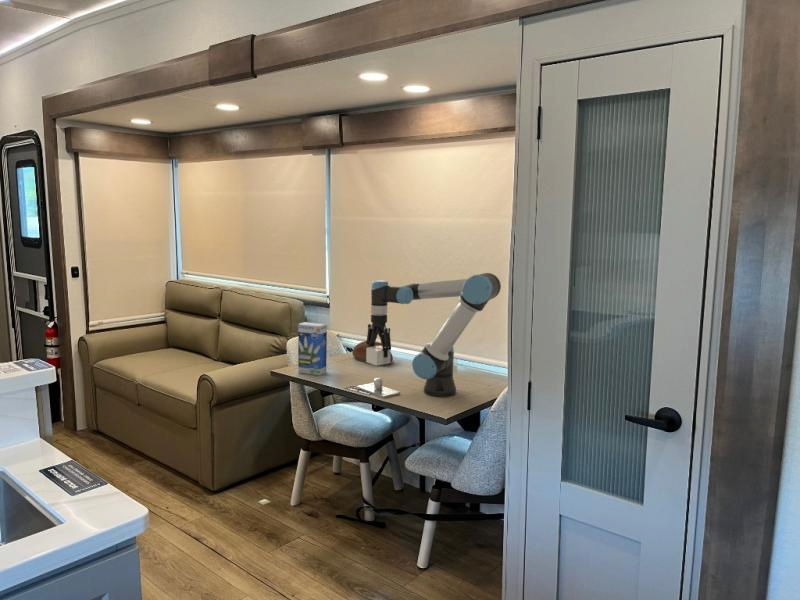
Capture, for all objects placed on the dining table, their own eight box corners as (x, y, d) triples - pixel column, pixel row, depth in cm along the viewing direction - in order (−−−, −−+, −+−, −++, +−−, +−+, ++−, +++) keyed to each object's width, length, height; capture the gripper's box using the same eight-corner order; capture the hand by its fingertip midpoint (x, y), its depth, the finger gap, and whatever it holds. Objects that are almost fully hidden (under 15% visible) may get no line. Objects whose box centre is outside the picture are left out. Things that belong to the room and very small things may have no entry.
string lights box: (297, 372, 312) (297, 323, 308) (305, 369, 319) (304, 321, 315) (320, 375, 307) (320, 326, 304) (327, 372, 314) (327, 323, 311)
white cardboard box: (390, 363, 280) (390, 348, 279) (376, 365, 274) (377, 350, 273) (379, 359, 286) (379, 345, 285) (366, 362, 280) (366, 347, 279)
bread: (377, 368, 325) (377, 347, 324) (345, 358, 347) (345, 338, 345) (399, 363, 335) (399, 344, 334) (366, 354, 357) (367, 335, 356)
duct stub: (400, 394, 278) (400, 381, 277) (383, 398, 271) (383, 385, 270) (373, 384, 292) (373, 372, 292) (356, 388, 286) (356, 375, 285)
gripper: (400, 316, 271) (398, 365, 275) (371, 310, 287) (370, 356, 290) (387, 318, 266) (386, 367, 270) (359, 311, 282) (358, 358, 285)
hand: (378, 362), depth 280 cm, fingers closed on white cardboard box, 8 cm apart
